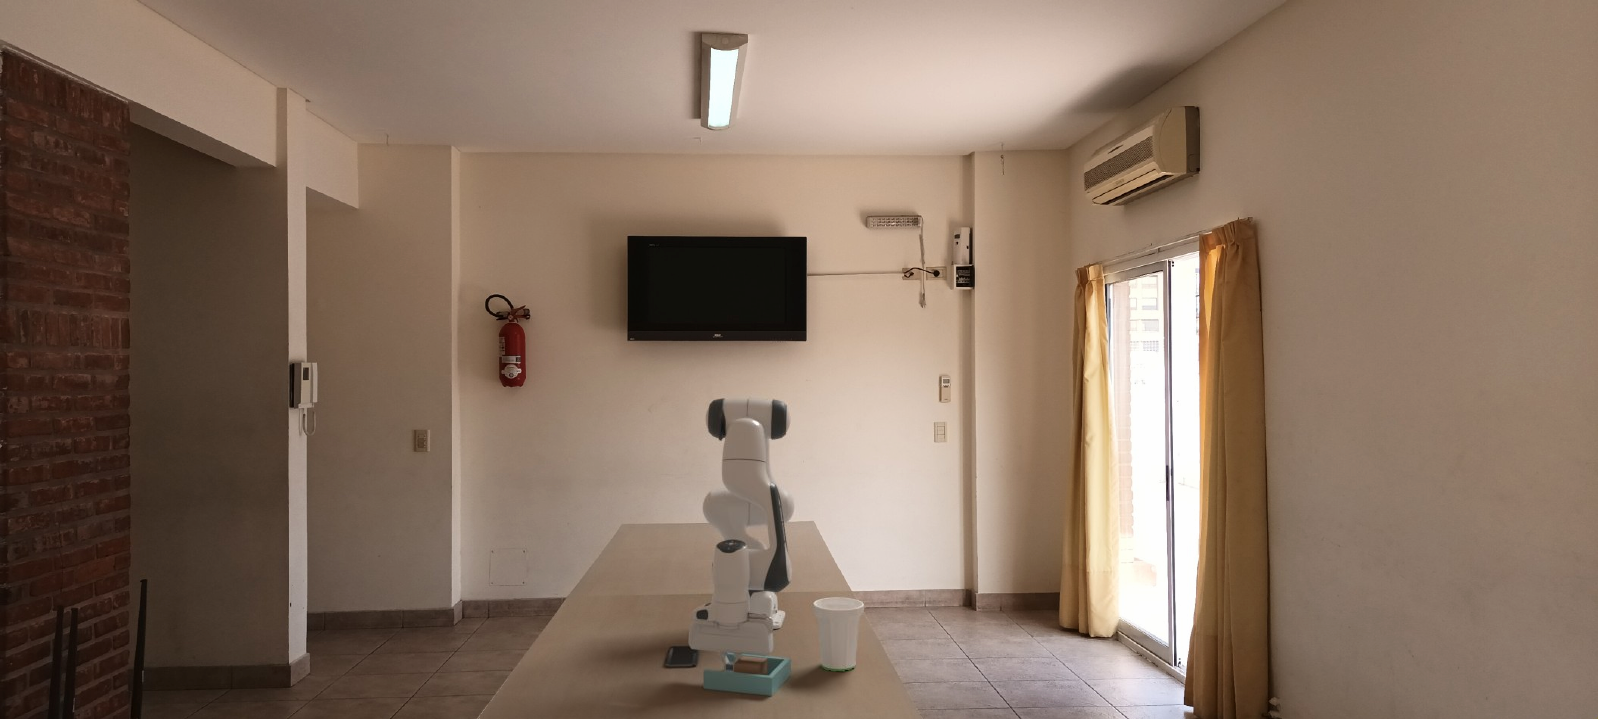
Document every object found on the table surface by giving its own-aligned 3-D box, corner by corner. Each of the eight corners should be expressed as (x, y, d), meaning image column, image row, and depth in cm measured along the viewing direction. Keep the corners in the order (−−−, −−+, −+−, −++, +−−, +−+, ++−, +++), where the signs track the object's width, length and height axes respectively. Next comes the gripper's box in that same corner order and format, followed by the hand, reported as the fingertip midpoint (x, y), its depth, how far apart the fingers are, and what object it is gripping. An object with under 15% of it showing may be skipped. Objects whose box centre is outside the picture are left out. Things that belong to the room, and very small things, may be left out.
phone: (664, 664, 223) (669, 646, 238) (664, 669, 223) (669, 650, 238) (697, 664, 224) (700, 645, 239) (697, 668, 224) (700, 649, 239)
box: (726, 668, 223) (726, 652, 223) (790, 675, 218) (790, 658, 218) (703, 688, 209) (703, 670, 209) (772, 695, 204) (772, 677, 204)
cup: (802, 665, 225) (802, 603, 225) (837, 654, 234) (837, 594, 234) (839, 678, 216) (839, 612, 216) (874, 666, 225) (874, 603, 225)
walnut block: (742, 677, 217) (743, 655, 217) (767, 679, 215) (767, 658, 215) (733, 685, 211) (734, 663, 211) (758, 688, 209) (758, 666, 209)
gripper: (777, 611, 215) (777, 670, 215) (696, 604, 221) (696, 662, 221) (768, 618, 209) (768, 679, 209) (685, 611, 215) (685, 670, 214)
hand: (730, 670), depth 215 cm, fingers closed
